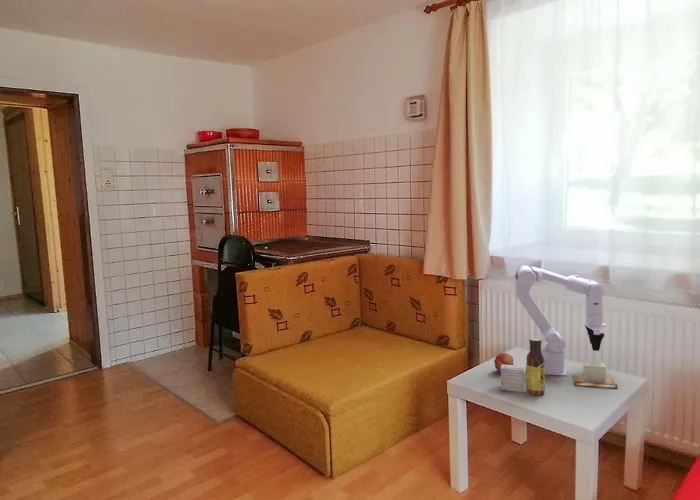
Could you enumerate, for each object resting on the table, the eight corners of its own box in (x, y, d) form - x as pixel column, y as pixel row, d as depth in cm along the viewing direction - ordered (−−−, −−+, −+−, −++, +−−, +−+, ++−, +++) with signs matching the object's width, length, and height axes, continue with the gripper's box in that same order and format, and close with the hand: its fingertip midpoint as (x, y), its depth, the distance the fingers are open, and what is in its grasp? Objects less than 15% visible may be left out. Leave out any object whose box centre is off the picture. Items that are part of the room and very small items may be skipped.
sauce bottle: (544, 397, 178) (545, 342, 175) (526, 395, 180) (526, 341, 177) (544, 389, 184) (544, 337, 181) (526, 387, 186) (526, 335, 183)
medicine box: (523, 387, 186) (523, 365, 185) (523, 393, 182) (523, 370, 180) (501, 386, 188) (501, 363, 187) (500, 390, 184) (500, 368, 183)
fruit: (511, 378, 195) (511, 358, 194) (491, 374, 199) (491, 355, 198) (516, 371, 201) (516, 351, 200) (497, 368, 205) (496, 349, 204)
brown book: (574, 385, 185) (574, 381, 185) (571, 376, 194) (572, 372, 194) (617, 388, 181) (617, 384, 181) (612, 378, 190) (612, 374, 189)
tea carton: (605, 382, 185) (605, 366, 184) (584, 381, 187) (585, 365, 187) (603, 378, 189) (604, 362, 188) (583, 376, 191) (583, 361, 190)
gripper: (608, 318, 184) (609, 354, 186) (603, 307, 198) (603, 341, 200) (587, 318, 187) (588, 353, 189) (583, 307, 200) (583, 340, 202)
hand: (594, 347), depth 194 cm, fingers open, 7 cm apart
